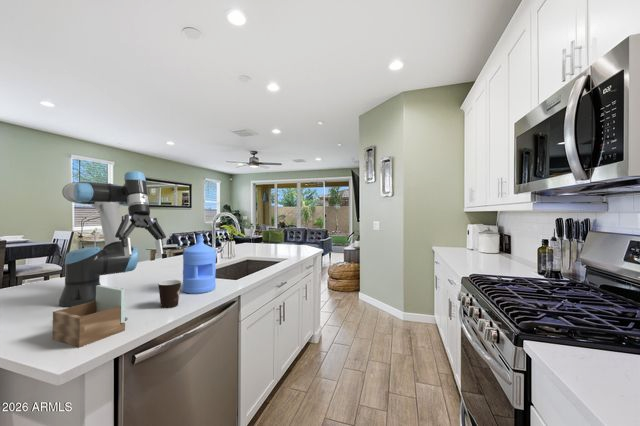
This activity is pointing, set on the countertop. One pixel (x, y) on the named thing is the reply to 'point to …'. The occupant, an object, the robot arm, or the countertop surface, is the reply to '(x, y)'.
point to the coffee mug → (169, 293)
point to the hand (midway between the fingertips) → (145, 255)
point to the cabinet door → (110, 300)
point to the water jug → (199, 268)
